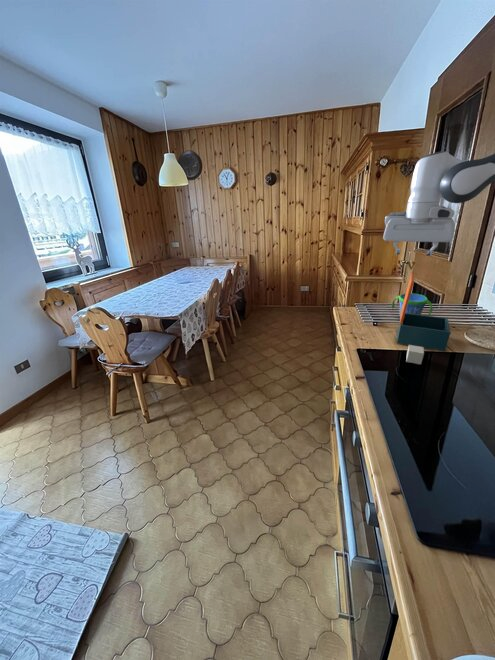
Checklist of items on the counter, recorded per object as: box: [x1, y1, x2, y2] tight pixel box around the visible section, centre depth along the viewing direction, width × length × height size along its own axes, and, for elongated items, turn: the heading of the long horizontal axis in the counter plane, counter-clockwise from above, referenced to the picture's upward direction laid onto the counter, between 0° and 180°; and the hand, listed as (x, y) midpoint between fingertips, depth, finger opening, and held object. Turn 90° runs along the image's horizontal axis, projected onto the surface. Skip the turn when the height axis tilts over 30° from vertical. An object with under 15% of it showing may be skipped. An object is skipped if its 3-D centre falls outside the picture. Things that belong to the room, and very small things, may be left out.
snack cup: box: [391, 292, 433, 317], centre depth 123 cm, size 16×10×10 cm
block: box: [405, 345, 425, 365], centre depth 96 cm, size 4×4×4 cm
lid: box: [399, 271, 415, 324], centre depth 104 cm, size 16×12×1 cm
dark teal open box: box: [396, 313, 452, 352], centre depth 107 cm, size 15×12×8 cm
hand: (412, 254), depth 97 cm, fingers open, 8 cm apart
